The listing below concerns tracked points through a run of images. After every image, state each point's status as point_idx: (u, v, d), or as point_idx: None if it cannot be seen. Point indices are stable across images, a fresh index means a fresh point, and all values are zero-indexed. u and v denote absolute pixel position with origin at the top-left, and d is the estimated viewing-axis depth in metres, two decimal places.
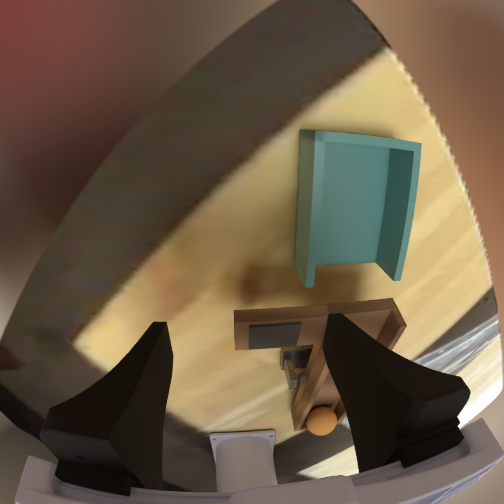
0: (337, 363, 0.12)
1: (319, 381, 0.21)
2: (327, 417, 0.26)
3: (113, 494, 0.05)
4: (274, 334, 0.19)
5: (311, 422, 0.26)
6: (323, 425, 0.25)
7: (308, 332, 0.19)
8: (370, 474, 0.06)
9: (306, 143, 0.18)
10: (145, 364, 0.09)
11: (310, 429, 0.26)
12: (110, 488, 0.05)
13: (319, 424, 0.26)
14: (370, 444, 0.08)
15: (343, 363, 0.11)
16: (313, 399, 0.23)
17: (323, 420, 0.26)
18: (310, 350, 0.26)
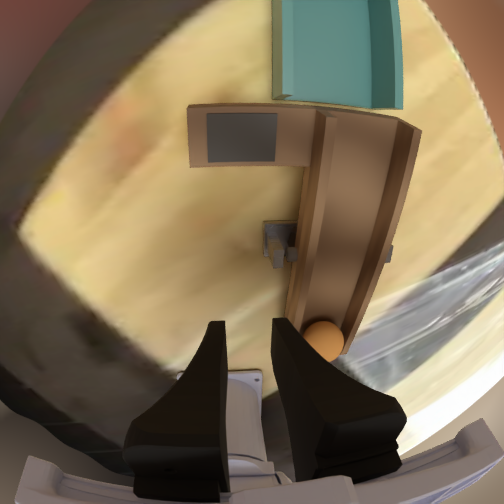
0: (279, 370, 0.12)
1: (313, 230, 0.15)
2: (330, 331, 0.20)
3: (201, 503, 0.06)
4: (240, 131, 0.13)
5: (308, 340, 0.21)
6: (325, 342, 0.20)
7: (289, 138, 0.14)
8: None
9: None
10: (219, 364, 0.09)
11: None
12: (202, 497, 0.06)
13: (319, 341, 0.20)
14: (301, 458, 0.08)
15: (282, 370, 0.11)
16: (308, 279, 0.17)
17: (325, 335, 0.20)
18: None
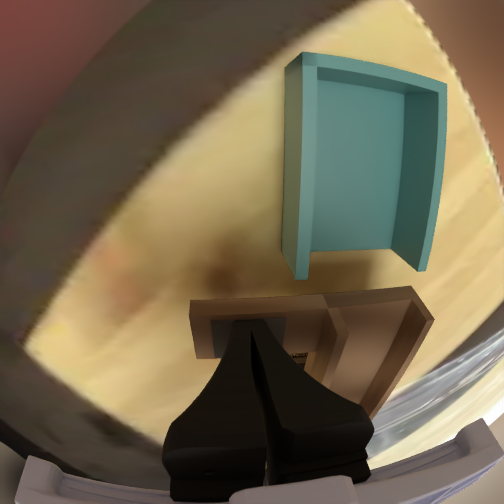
0: (254, 372, 0.11)
1: None
2: None
3: None
4: None
5: None
6: None
7: (297, 334, 0.14)
8: None
9: (293, 77, 0.12)
10: (250, 363, 0.09)
11: None
12: None
13: None
14: (270, 462, 0.08)
15: (256, 372, 0.11)
16: None
17: None
18: None
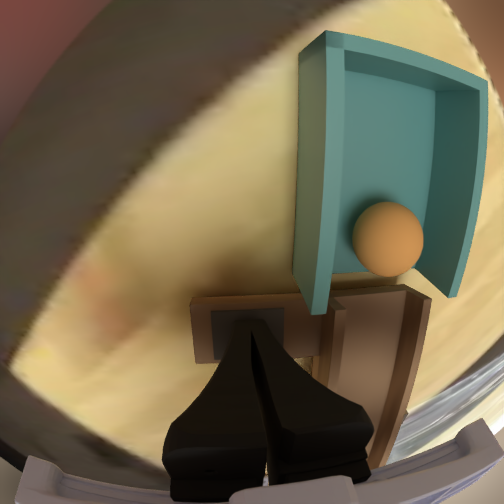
0: (254, 372, 0.11)
1: None
2: (410, 227, 0.11)
3: None
4: None
5: (371, 236, 0.11)
6: (401, 247, 0.10)
7: (297, 331, 0.14)
8: None
9: (310, 63, 0.09)
10: (251, 363, 0.09)
11: (365, 256, 0.11)
12: None
13: (392, 243, 0.11)
14: (270, 462, 0.08)
15: (256, 372, 0.11)
16: None
17: (402, 233, 0.10)
18: None
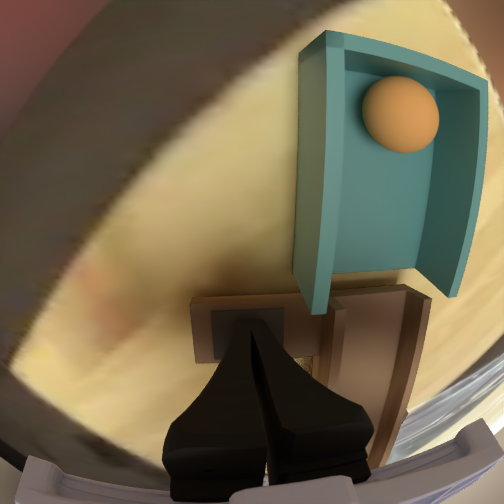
0: (254, 372, 0.11)
1: None
2: None
3: None
4: None
5: (368, 130, 0.10)
6: None
7: (297, 330, 0.14)
8: None
9: (311, 63, 0.09)
10: (251, 363, 0.09)
11: (362, 110, 0.10)
12: None
13: None
14: (270, 462, 0.08)
15: (256, 372, 0.11)
16: None
17: None
18: None
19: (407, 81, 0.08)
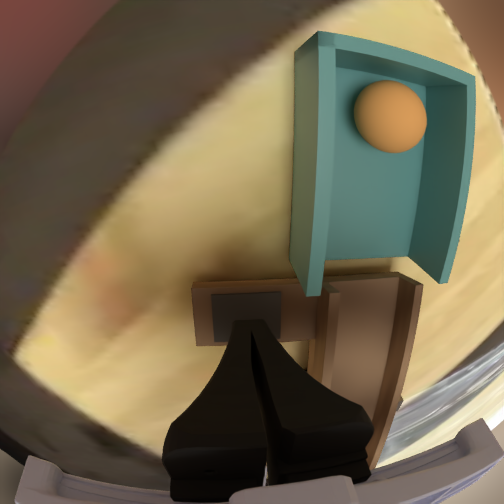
0: (254, 372, 0.11)
1: None
2: None
3: None
4: (245, 312, 0.14)
5: None
6: None
7: (294, 314, 0.14)
8: None
9: (305, 61, 0.10)
10: (251, 363, 0.09)
11: (354, 109, 0.11)
12: None
13: None
14: (270, 462, 0.08)
15: (256, 372, 0.11)
16: None
17: None
18: None
19: (399, 91, 0.09)
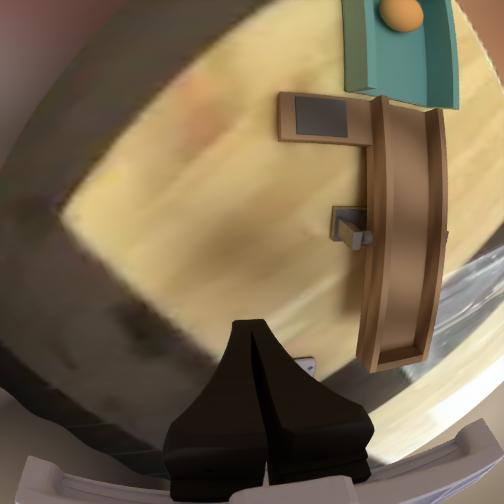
0: (254, 372, 0.11)
1: (388, 189, 0.16)
2: None
3: None
4: (321, 111, 0.16)
5: (381, 16, 0.14)
6: None
7: (355, 121, 0.17)
8: None
9: None
10: (251, 363, 0.09)
11: (379, 5, 0.14)
12: None
13: None
14: (270, 462, 0.08)
15: (256, 372, 0.11)
16: (389, 246, 0.17)
17: None
18: None
19: None
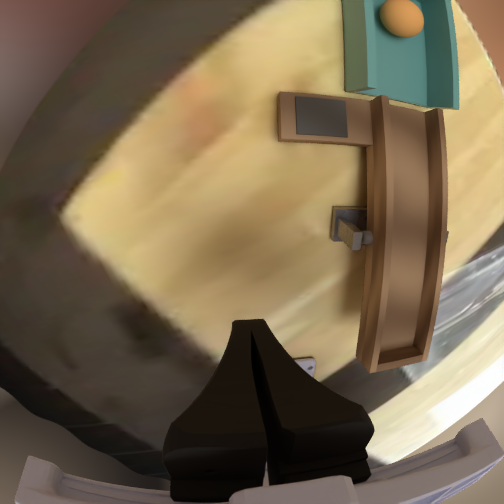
0: (254, 372, 0.11)
1: (388, 189, 0.16)
2: None
3: None
4: (321, 111, 0.16)
5: None
6: None
7: (355, 121, 0.17)
8: None
9: None
10: (251, 363, 0.09)
11: None
12: None
13: None
14: (270, 462, 0.08)
15: (256, 372, 0.11)
16: (389, 246, 0.17)
17: None
18: None
19: (409, 8, 0.12)
